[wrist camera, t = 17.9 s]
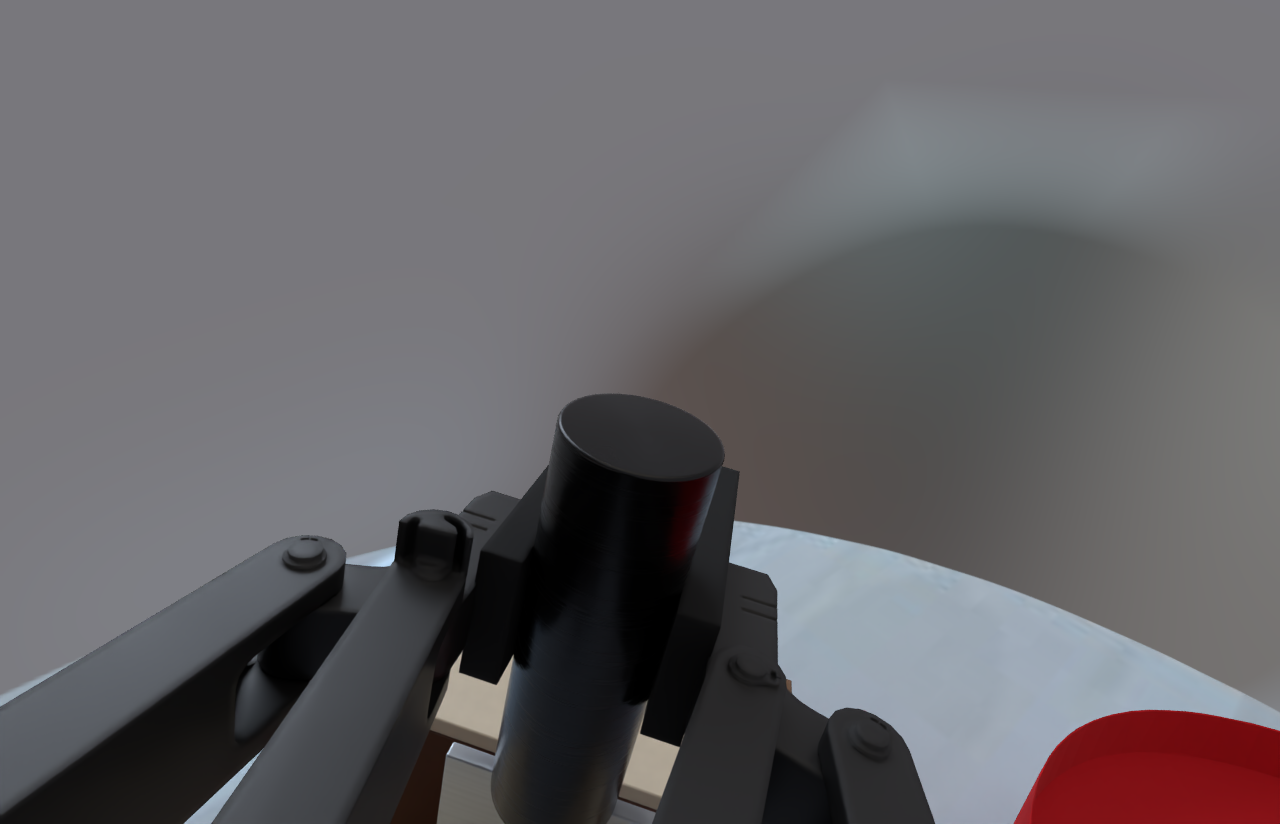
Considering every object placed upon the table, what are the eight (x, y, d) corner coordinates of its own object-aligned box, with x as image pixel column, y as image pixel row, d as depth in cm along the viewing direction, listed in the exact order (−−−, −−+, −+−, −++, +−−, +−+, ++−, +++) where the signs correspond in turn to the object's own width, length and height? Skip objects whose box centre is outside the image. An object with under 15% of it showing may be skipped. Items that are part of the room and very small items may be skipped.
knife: (566, 1110, 18) (791, 522, 10) (390, 1040, 18) (463, 422, 10) (595, 987, 20) (792, 437, 12) (440, 928, 21) (529, 361, 13)
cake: (712, 959, 22) (766, 833, 20) (378, 835, 24) (396, 704, 22) (731, 732, 32) (769, 630, 30) (491, 651, 33) (511, 547, 31)
